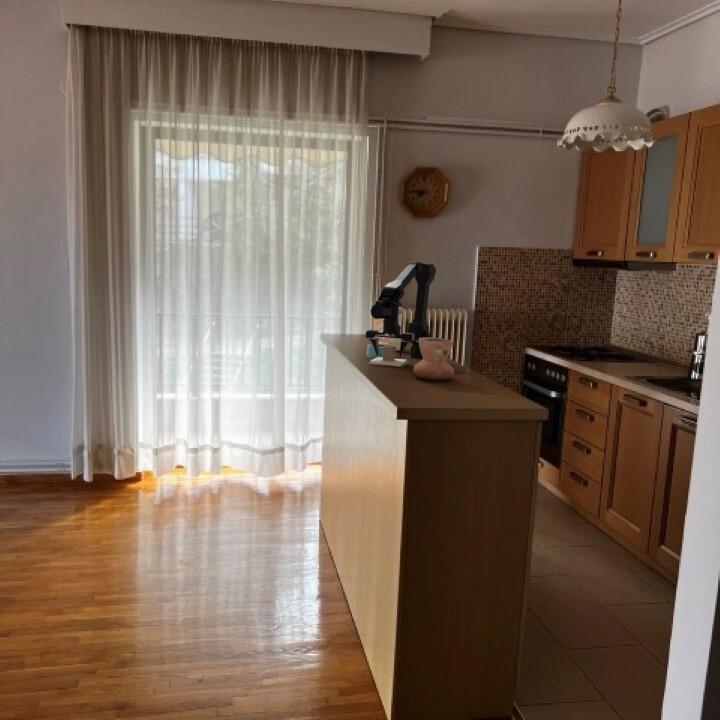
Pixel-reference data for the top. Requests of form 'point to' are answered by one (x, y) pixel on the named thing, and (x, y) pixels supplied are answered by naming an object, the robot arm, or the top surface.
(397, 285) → the robot arm
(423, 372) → the ceramic jug
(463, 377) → the top surface
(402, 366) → the mat
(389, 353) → the lid
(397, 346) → the coffeecake box
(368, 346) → the bowl
